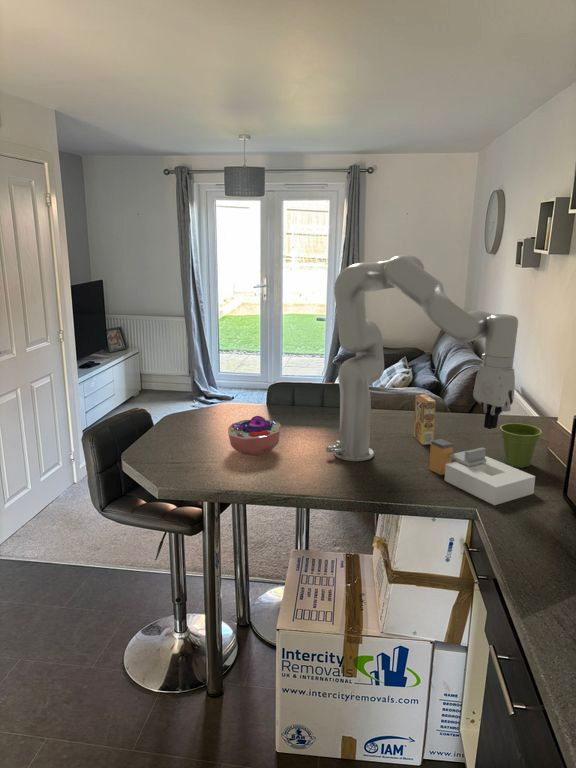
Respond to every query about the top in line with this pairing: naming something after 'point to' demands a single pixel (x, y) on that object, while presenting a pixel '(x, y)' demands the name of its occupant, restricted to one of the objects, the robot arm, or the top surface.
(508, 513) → the top surface
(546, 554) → the top surface
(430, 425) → the candy box
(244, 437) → the cell model
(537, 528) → the top surface
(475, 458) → the grey block
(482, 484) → the socket
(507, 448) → the plant pot
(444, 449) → the tan boxy piece
